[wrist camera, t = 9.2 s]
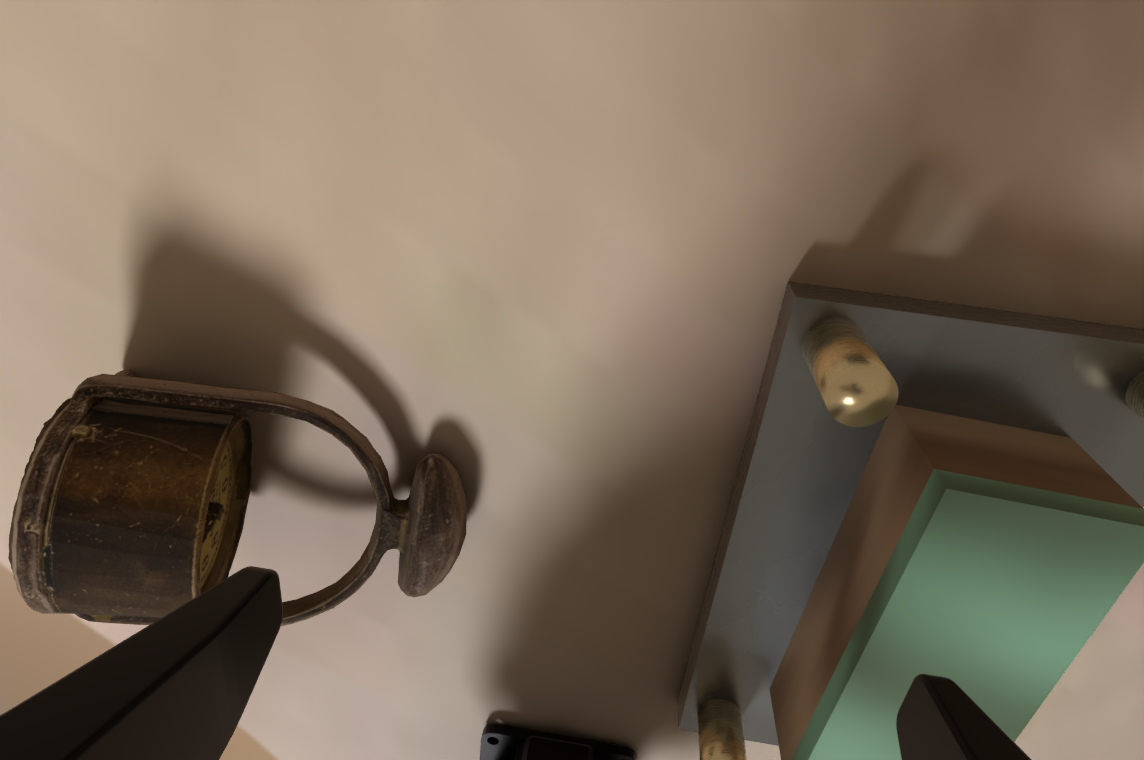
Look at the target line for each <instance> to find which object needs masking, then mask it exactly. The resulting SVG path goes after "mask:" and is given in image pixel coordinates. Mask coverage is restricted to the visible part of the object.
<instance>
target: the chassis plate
mask: <svg viewBox="0 0 1144 760" xmlns="http://www.w3.org/2000/svg"><path fill="white" fill-rule="evenodd" d="M895 405H900V406H906V407H911V408H916V409H922V410H927V411H932V412H937V413H943V414H948V415H953V416H958V417H964V418H969V419H974V420H979V421H985V422H990V423H995V424H1000V425H1006V426H1011V427H1016V428H1022V429H1027V430H1032V431H1037V432H1043V433H1048V434H1053V435H1058V436H1064V437H1069V438H1072V439H1073V440H1074V441H1075V442H1076V443H1077V444H1078V445H1079V446H1080V447H1081V448H1082V449H1083V450H1084V451H1085V452H1086V453H1087V454H1088V455H1089V456H1090V457H1092V458H1093V459H1094V460H1095V461H1096V462H1097V463H1098V464H1099V465H1100V466H1101V467H1102V468H1103V469H1104V470H1105V471H1106V472H1107V473H1108V474H1109V475H1110V476H1111V477H1112V478H1113V479H1114V480H1115V481H1116V482H1117V483H1118V484H1119V485H1120V486H1121V487H1122V488H1123V489H1124V490H1125V491H1126V492H1127V493H1128V494H1129V495H1130V496H1131V497H1132V498H1133V499H1134V500H1135V501H1136V502H1137V503H1138V504H1139V505H1140V506H1141V507H1142V508H1143V506H1144V330H1140V329H1132V328H1125V327H1118V326H1110V325H1103V324H1095V323H1088V322H1081V321H1073V320H1066V319H1058V318H1051V317H1043V316H1036V315H1029V314H1021V313H1014V312H1006V311H999V310H991V309H984V308H977V307H969V306H962V305H954V304H947V303H940V302H932V301H925V300H917V299H910V298H902V297H895V296H888V295H880V294H873V293H865V292H858V291H851V290H843V289H836V288H828V287H821V286H813V285H806V284H799V283H791V282H788V284H787V288H786V291H785V295H784V299H783V303H782V307H781V310H780V314H779V318H778V322H777V326H776V329H775V333H774V337H773V341H772V345H771V349H770V352H769V356H768V360H767V364H766V368H765V371H764V375H763V379H762V383H761V387H760V390H759V394H758V398H757V402H756V406H755V409H754V413H753V417H752V421H751V425H750V428H749V432H748V436H747V440H746V444H745V447H744V451H743V455H742V459H741V463H740V466H739V470H738V474H737V478H736V482H735V485H734V489H733V493H732V497H731V501H730V504H729V508H728V512H727V516H726V520H725V523H724V527H723V531H722V535H721V539H720V542H719V546H718V550H717V554H716V558H715V561H714V565H713V569H712V573H711V577H710V580H709V584H708V588H707V592H706V596H705V600H704V603H703V607H702V611H701V615H700V619H699V622H698V626H697V630H696V634H695V638H694V641H693V645H692V649H691V653H690V657H689V660H688V664H687V668H686V672H685V676H684V679H683V683H682V687H681V691H680V695H679V698H678V728H679V729H682V730H688V731H694V732H698V736H699V752H700V760H747V759H746V751H745V743H744V740H748V741H754V742H760V743H766V744H772V745H778V746H779V743H778V738H777V732H776V726H775V720H774V714H773V708H772V703H771V697H770V691H769V689H770V686H771V684H772V682H773V679H774V677H775V675H776V673H777V670H778V668H779V666H780V663H781V661H782V659H783V656H784V654H785V652H786V649H787V647H788V645H789V643H790V640H791V638H792V636H793V633H794V631H795V629H796V626H797V624H798V622H799V620H800V617H801V615H802V613H803V610H804V608H805V606H806V603H807V601H808V599H809V596H810V594H811V592H812V590H813V587H814V585H815V583H816V580H817V578H818V576H819V573H820V571H821V569H822V567H823V564H824V562H825V560H826V557H827V555H828V553H829V550H830V548H831V546H832V543H833V541H834V539H835V537H836V534H837V532H838V530H839V527H840V525H841V523H842V520H843V518H844V516H845V514H846V511H847V509H848V507H849V504H850V502H851V500H852V497H853V495H854V493H855V490H856V488H857V486H858V484H859V481H860V479H861V477H862V474H863V472H864V470H865V467H866V465H867V463H868V461H869V458H870V456H871V454H872V451H873V449H874V447H875V444H876V442H877V440H878V437H879V435H880V433H881V431H882V428H883V426H884V424H885V421H886V419H887V417H888V415H889V414H890V413H891V411H892V410H893V409H894V407H895Z"/></svg>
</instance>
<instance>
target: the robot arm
mask: <svg viewBox="0 0 1144 760" xmlns="http://www.w3.org/2000/svg"><path fill="white" fill-rule="evenodd" d="M282 618H283V606H282V598H281V590H280V582H279V576H278V574H277V572H276V571H274V570H271V569H265V568H259V567H252V566H251V567H246V568H243V569H242V570H240V571H238V572H237V573H235V574H233V575H232V576H230V577H228V578H227V579H225V580H223V581H222V582H220V583H218V584H217V585H215V586H213V587H212V588H210V589H208V590H207V591H205V592H203V593H202V594H200V595H199V596H197V597H195V598H194V599H192V600H190V601H189V602H187V603H185V604H184V605H182V606H180V607H179V608H177V609H175V610H174V611H172V612H170V613H169V614H167V615H165V616H164V617H162V618H161V619H159V620H157V621H156V622H154V623H152V624H151V625H149V626H147V627H146V628H144V629H142V630H141V631H139V632H137V633H136V634H134V635H132V636H131V637H129V638H128V639H126V640H124V641H123V642H121V643H119V644H118V645H116V646H114V647H113V648H111V649H109V650H108V651H106V652H104V653H103V654H101V655H99V656H98V657H96V658H94V659H93V660H91V661H90V662H88V663H86V664H85V665H83V666H81V667H80V668H78V669H76V670H75V671H73V672H72V673H70V674H68V675H66V676H65V677H63V678H61V679H60V680H58V681H57V682H55V683H53V684H52V685H50V686H48V687H47V688H45V689H43V690H42V691H40V692H38V693H37V694H35V695H34V696H32V697H30V698H28V699H27V700H25V701H23V702H22V703H20V704H19V705H17V706H15V707H14V708H12V709H10V710H9V711H7V712H5V713H4V714H2V715H0V760H219V759H220V757H221V755H222V753H223V751H224V750H225V748H226V746H227V744H228V742H229V740H230V738H231V737H232V735H233V733H234V731H235V729H236V727H237V725H238V722H239V720H240V718H241V716H242V714H243V712H244V709H245V707H246V705H247V702H248V700H249V698H250V696H251V693H252V691H253V689H254V686H255V684H256V682H257V680H258V677H259V675H260V673H261V670H262V668H263V666H264V664H265V661H266V659H267V657H268V654H269V652H270V650H271V648H272V645H273V643H274V641H275V638H276V636H277V634H278V632H279V629H280V626H281V623H282ZM896 728H897V735H898V741H899V747H900V753H901V759H902V760H1031V759H1030V758H1029V757H1028V756H1027V755H1026V754H1025V753H1024V752H1023V751H1022V750H1021V749H1020V748H1019V747H1018V746H1017V745H1016V744H1015V743H1014V742H1013V741H1012V740H1011V739H1010V738H1009V736H1008V735H1007V734H1006V733H1005V732H1004V731H1003V730H1002V729H1001V728H1000V727H999V726H998V725H997V724H996V723H995V722H994V721H993V720H992V719H991V718H990V717H989V716H988V715H987V714H986V713H985V712H984V711H983V710H982V709H981V708H980V707H979V706H978V705H977V704H976V703H975V702H974V701H973V700H972V699H971V698H970V697H969V696H968V695H967V694H966V693H965V692H964V691H963V690H962V689H961V688H960V687H959V686H958V685H957V684H956V683H955V682H954V681H952V680H951V679H949V678H946V677H941V676H934V675H928V674H919V675H918V676H916V677H915V678H914V680H913V682H912V684H911V686H910V688H909V690H908V692H907V694H906V696H905V698H904V700H903V702H902V704H901V706H900V708H899V711H898V714H897V720H896ZM480 760H636V753H635V751H634V750H633V749H631V748H629V747H625V746H620V745H614V744H608V743H602V742H596V741H590V740H584V739H578V738H572V737H566V736H560V735H554V734H548V733H543V732H537V731H531V730H525V729H519V728H513V727H507V726H501V725H494V724H491V725H487V726H486V727H484V730H483V734H482V738H481V749H480Z"/></svg>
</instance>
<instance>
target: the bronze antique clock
mask: <svg viewBox="0 0 1144 760" xmlns="http://www.w3.org/2000/svg"><path fill="white" fill-rule="evenodd" d="M210 408H213V409H210ZM219 409H226V410H219ZM228 410H236V411H228ZM238 411H246V412H256V413H264V414H271V415H278V416H285V417H291V418H295V419H300V420H304V421H307V422H309V423H311V424H313V425H315V426H317V427H319V428H320V429H322V430H324V431H326V432H328V433H330V434H332V435H333V436H334V437H336V438H337V439H338V440H339V441H340V442H342V443H343V444H344V445H345V446H347V447H348V448H349V449H350V450H351V451H352V453H353V454H354V455H355V457H356V458H357V459H358V461H359V462H360V463H361V465H362V466H363V467H364V469H365V470H366V472H367V474H368V477H369V479H370V482H371V484H372V487H373V489H374V492H375V496H376V502H377V512H376V523H375V526H374V529H373V532H372V536H371V539H370V542H369V544H368V546H367V547H366V549H365V551H364V553H363V555H362V556H361V558H360V560H359V561H358V562H357V563H356V564H355V565H354V566H353V567H352V568H351V570H350V571H349V572H348V573H346V574H345V575H344V576H343V577H342V578H341V579H340V580H339V581H337V582H336V583H334V584H332V585H330V586H328V587H326V588H324V589H322V590H320V591H318V592H316V593H313V594H310V595H308V596H305V597H302V598H299V599H296V600H292V601H287V602H282V606H283V618H282V623H281V626H284V625H288V624H292V623H296V622H299V621H302V620H306V619H309V618H311V617H313V616H316V615H318V614H320V613H323V612H325V611H327V610H330V609H332V608H334V607H335V606H337V605H338V604H340V603H341V602H343V601H344V600H346V599H347V598H348V597H350V596H351V595H352V594H354V593H355V592H356V591H357V590H358V589H359V588H360V587H361V586H362V585H363V584H364V583H365V582H366V580H367V579H368V578H369V577H370V576H371V575H372V573H373V572H374V570H375V569H376V567H377V565H378V563H379V562H380V560H381V558H382V556H383V555H384V553H385V552H386V551H387V550H390V549H398V550H399V551H400V557H399V574H398V584H399V586H400V589H401V590H402V591H403V592H404V593H405V594H406V595H407V596H411V597H418V596H422V595H426V594H427V593H429V592H430V591H431V590H432V589H433V588H435V587H436V586H437V585H438V584H439V583H441V582H442V581H443V579H444V578H445V577H446V575H447V574H448V573H449V571H450V570H451V568H452V567H453V565H454V563H455V561H456V559H457V557H458V556H459V554H460V551H461V548H462V545H463V542H464V539H465V536H466V514H467V500H466V496H465V493H464V490H463V487H462V484H461V480H460V477H459V474H458V472H457V471H456V470H455V468H454V467H453V465H452V464H451V463H450V461H449V460H448V459H447V458H446V457H444V456H442V455H440V454H430V453H429V454H428V455H426V456H425V457H423V458H422V459H421V460H420V462H419V463H418V465H417V468H416V472H415V476H414V479H413V483H412V487H411V491H410V495H409V497H408V498H407V499H406V500H397V499H395V498H394V496H393V493H392V490H391V487H390V482H389V477H388V471H387V469H386V467H385V465H384V463H383V461H382V459H381V457H380V455H379V454H378V453H377V452H376V450H375V449H374V448H373V446H372V445H371V443H370V442H369V440H368V439H367V437H365V436H364V435H363V434H362V433H361V432H359V431H358V430H357V429H356V428H355V427H353V426H352V425H351V424H350V423H349V422H348V421H346V420H345V419H344V418H343V417H341V416H340V415H338V414H337V413H335V412H334V411H332V410H330V409H328V408H325V407H322V406H320V405H317V404H315V403H312V402H310V401H307V400H303V399H299V398H295V397H291V396H287V395H284V394H279V393H274V392H268V391H256V390H244V389H232V388H223V387H216V386H208V385H201V384H193V383H186V382H178V381H168V380H158V379H148V378H138V377H135V375H134V374H133V373H132V372H131V371H130V370H123V371H120V372H118V373H116V374H115V375H108V374H101V375H97V376H93V377H90V378H87V379H86V380H85V381H83V382H82V383H81V384H80V385H79V386H78V387H77V389H76V390H75V392H74V394H73V396H72V398H70V399H67V400H66V401H65V402H64V403H62V405H61V406H60V407H59V408H58V409H57V410H56V413H55V414H54V415H53V417H52V418H51V419H49V420H48V421H47V422H45V423H44V427H43V429H42V430H41V432H40V434H39V436H38V437H37V439H36V443H35V447H34V451H33V452H32V453H31V456H30V459H29V462H28V463H27V465H26V468H25V474H24V476H23V478H22V481H21V486H20V489H19V493H18V498H17V501H16V503H15V506H14V511H13V517H12V523H11V529H10V535H9V561H10V563H11V568H12V571H13V574H14V579H15V582H16V586H17V590H18V592H19V593H20V595H21V597H22V598H23V599H24V601H25V602H26V603H27V605H28V606H29V607H30V608H31V609H33V610H35V611H38V612H40V613H75V614H76V615H77V616H78V617H80V618H83V619H85V620H87V621H93V622H104V623H120V624H137V625H151V624H152V623H154V622H156V621H157V620H159V619H161V618H162V617H164V616H165V615H167V614H169V613H170V612H172V611H174V610H175V609H177V608H179V607H180V606H182V605H184V604H185V603H187V602H189V601H190V600H192V599H194V598H195V597H197V596H199V595H200V594H202V593H203V592H205V591H207V590H208V589H210V588H212V587H213V586H215V585H217V584H218V583H220V582H222V581H223V580H225V579H227V578H228V574H229V571H230V568H231V566H232V563H233V560H234V557H235V554H236V550H237V547H238V543H239V540H240V537H241V533H242V530H243V525H244V519H245V513H246V508H247V504H248V499H249V494H250V488H251V453H252V441H251V428H250V425H249V421H248V418H247V416H246V415H244V414H242V413H240V412H238Z"/></svg>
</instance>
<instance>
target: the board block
mask: <svg viewBox="0 0 1144 760" xmlns="http://www.w3.org/2000/svg"><path fill="white" fill-rule="evenodd" d="M1143 562H1144V509H1143V508H1142V507H1141V506H1140V505H1139V504H1138V503H1137V502H1136V501H1135V500H1134V499H1133V498H1132V497H1131V496H1130V495H1129V494H1128V493H1127V492H1126V491H1125V490H1124V489H1123V488H1122V487H1121V486H1120V485H1119V484H1118V483H1117V482H1116V481H1115V480H1114V479H1113V478H1112V477H1111V476H1110V475H1109V474H1108V473H1107V472H1106V471H1105V470H1104V469H1103V468H1102V467H1101V466H1100V465H1099V464H1098V463H1097V462H1096V461H1095V460H1094V459H1093V458H1092V457H1090V456H1089V455H1088V454H1087V453H1086V452H1085V451H1084V450H1083V449H1082V448H1081V447H1080V446H1079V445H1078V444H1077V443H1076V442H1075V441H1074V440H1073V439H1072V438H1069V437H1064V436H1058V435H1053V434H1048V433H1043V432H1037V431H1032V430H1027V429H1022V428H1016V427H1011V426H1006V425H1000V424H995V423H990V422H985V421H979V420H974V419H969V418H964V417H958V416H953V415H948V414H943V413H937V412H932V411H927V410H922V409H916V408H911V407H906V406H900V405H895V407H894V409H893V410H892V411H891V413H890V414H889V415H888V417H887V419H886V421H885V424H884V426H883V428H882V431H881V433H880V435H879V437H878V440H877V442H876V444H875V447H874V449H873V451H872V454H871V456H870V458H869V461H868V463H867V465H866V467H865V470H864V472H863V474H862V477H861V479H860V481H859V484H858V486H857V488H856V490H855V493H854V495H853V497H852V500H851V502H850V504H849V507H848V509H847V511H846V514H845V516H844V518H843V520H842V523H841V525H840V527H839V530H838V532H837V534H836V537H835V539H834V541H833V543H832V546H831V548H830V550H829V553H828V555H827V557H826V560H825V562H824V564H823V567H822V569H821V571H820V573H819V576H818V578H817V580H816V583H815V585H814V587H813V590H812V592H811V594H810V596H809V599H808V601H807V603H806V606H805V608H804V610H803V613H802V615H801V617H800V620H799V622H798V624H797V626H796V629H795V631H794V633H793V636H792V638H791V640H790V643H789V645H788V647H787V649H786V652H785V654H784V656H783V659H782V661H781V663H780V666H779V668H778V670H777V673H776V675H775V677H774V679H773V682H772V684H771V686H770V689H769V691H770V697H771V703H772V708H773V714H774V720H775V726H776V732H777V738H778V743H779V749H780V755H781V760H902V759H901V753H900V747H899V741H898V735H897V728H896V720H897V714H898V711H899V708H900V706H901V704H902V702H903V700H904V698H905V696H906V694H907V692H908V690H909V688H910V686H911V684H912V682H913V680H914V678H915V677H916V676H918V675H919V674H928V675H934V676H941V677H946V678H949V679H951V680H952V681H954V682H955V683H956V684H957V685H958V686H959V687H960V688H961V689H962V690H963V691H964V692H965V693H966V694H967V695H968V696H969V697H970V698H971V699H972V700H973V701H974V702H975V703H976V704H977V705H978V706H979V707H980V708H981V709H982V710H983V711H984V712H985V713H986V714H987V715H988V716H989V717H990V718H991V719H992V720H993V721H994V722H995V723H996V724H997V725H998V726H999V727H1000V728H1001V729H1002V730H1003V731H1004V732H1005V733H1006V734H1007V735H1008V736H1009V738H1010V739H1011V740H1012V741H1013V742H1015V740H1016V739H1017V737H1018V736H1019V735H1020V733H1021V732H1022V730H1023V729H1024V728H1025V726H1026V725H1027V724H1028V722H1029V721H1030V719H1031V718H1032V717H1033V715H1034V714H1035V712H1036V711H1037V710H1038V708H1039V707H1040V705H1041V704H1042V703H1043V701H1044V700H1045V699H1046V697H1047V696H1048V694H1049V693H1050V692H1051V690H1052V689H1053V687H1054V686H1055V685H1056V683H1057V682H1058V680H1059V679H1060V678H1061V676H1062V675H1063V674H1064V672H1065V671H1066V669H1067V668H1068V667H1069V665H1070V664H1071V662H1072V661H1073V660H1074V658H1075V657H1076V655H1077V654H1078V653H1079V651H1080V650H1081V649H1082V647H1083V646H1084V644H1085V643H1086V642H1087V640H1088V639H1089V637H1090V636H1091V635H1092V633H1093V632H1094V630H1095V629H1096V628H1097V626H1098V625H1099V624H1100V622H1101V621H1102V619H1103V618H1104V617H1105V615H1106V614H1107V612H1108V611H1109V610H1110V608H1111V607H1112V606H1113V604H1114V603H1115V601H1116V600H1117V599H1118V597H1119V596H1120V594H1121V593H1122V592H1123V590H1124V589H1125V587H1126V586H1127V585H1128V583H1129V582H1130V581H1131V579H1132V578H1133V576H1134V575H1135V574H1136V572H1137V571H1138V569H1139V568H1140V567H1141V565H1142V564H1143Z"/></svg>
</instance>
